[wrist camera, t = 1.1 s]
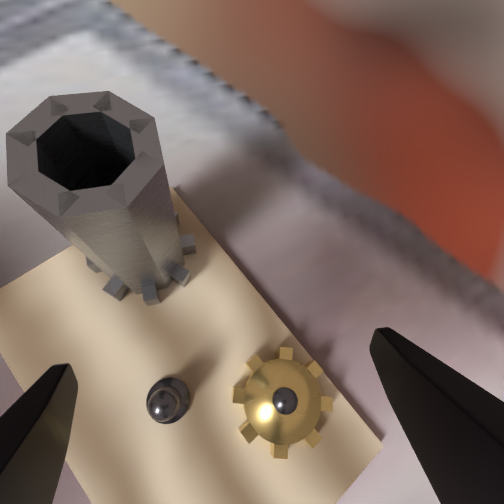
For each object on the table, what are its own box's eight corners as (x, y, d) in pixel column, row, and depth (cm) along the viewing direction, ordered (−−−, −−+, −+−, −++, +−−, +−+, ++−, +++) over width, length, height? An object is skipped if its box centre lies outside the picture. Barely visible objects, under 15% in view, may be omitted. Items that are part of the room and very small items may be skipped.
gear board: (194, 661, 18) (194, 670, 17) (-23, 307, 22) (-29, 305, 22) (379, 444, 23) (383, 445, 22) (171, 189, 27) (171, 186, 27)
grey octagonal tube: (205, 293, 24) (203, 219, 12) (100, 316, 22) (-25, 259, 10) (186, 205, 26) (168, 67, 14) (89, 222, 25) (-25, 82, 12)
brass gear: (275, 478, 21) (281, 488, 19) (211, 392, 22) (212, 394, 20) (345, 404, 23) (356, 407, 21) (283, 328, 24) (289, 326, 22)
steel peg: (163, 433, 21) (154, 446, 17) (138, 397, 21) (125, 403, 18) (198, 402, 21) (197, 409, 18) (174, 368, 22) (168, 368, 19)
